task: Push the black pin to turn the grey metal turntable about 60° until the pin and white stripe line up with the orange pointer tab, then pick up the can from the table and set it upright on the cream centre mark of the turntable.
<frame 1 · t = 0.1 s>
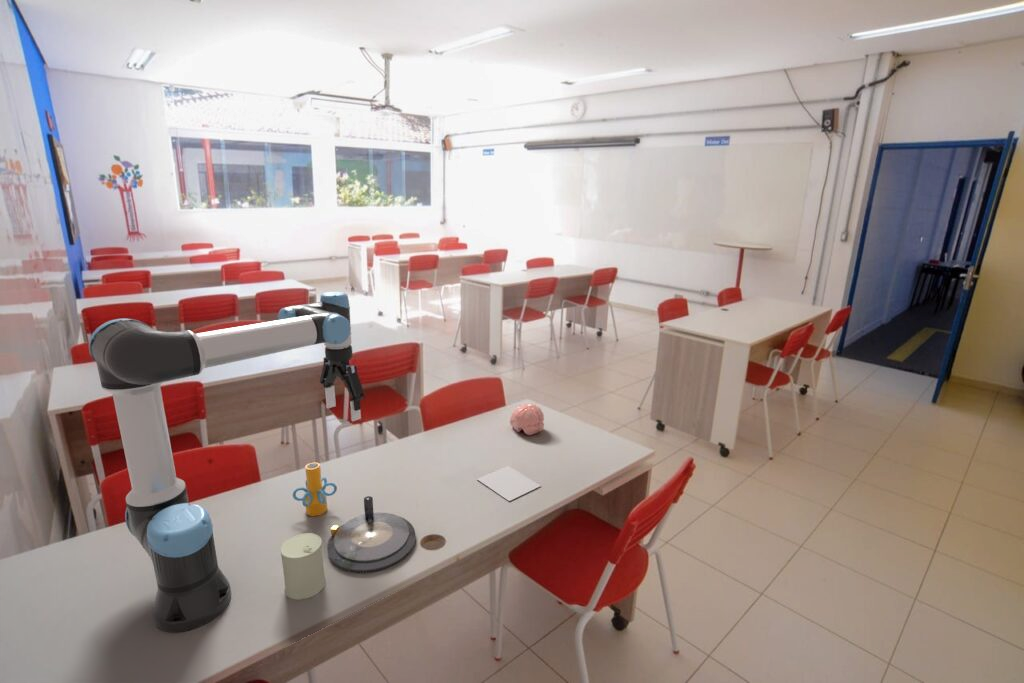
hand: (343, 413, 155), 28 cm above the table, tool pointing down, fingers open, 13 cm apart
can: (305, 586, 125), on the table
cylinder: (317, 511, 154), on the table
turntable: (371, 526, 138), point 5 cm above the table, hinge at 0.0°
brain: (526, 430, 210), on the table
paper stack: (489, 484, 171), on the table
turntable base: (372, 543, 140), on the table
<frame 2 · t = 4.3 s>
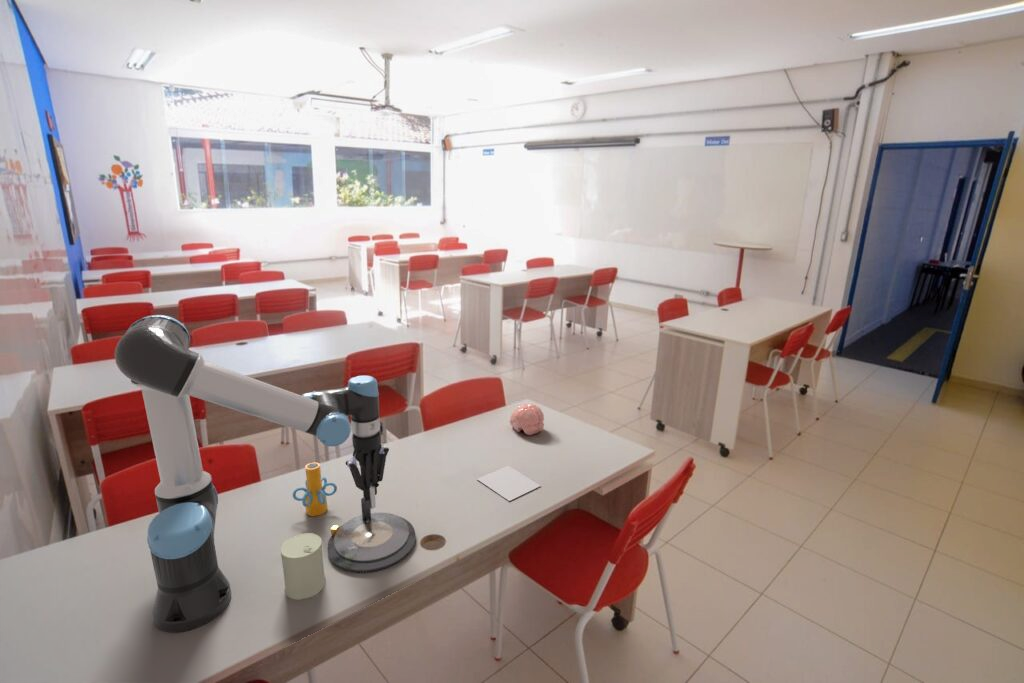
hand: (371, 506, 147), 6 cm above the table, tool pointing down, fingers closed
turntable: (371, 526, 138), point 5 cm above the table, hinge at 5.3°, touching gripper
everything else where it was.
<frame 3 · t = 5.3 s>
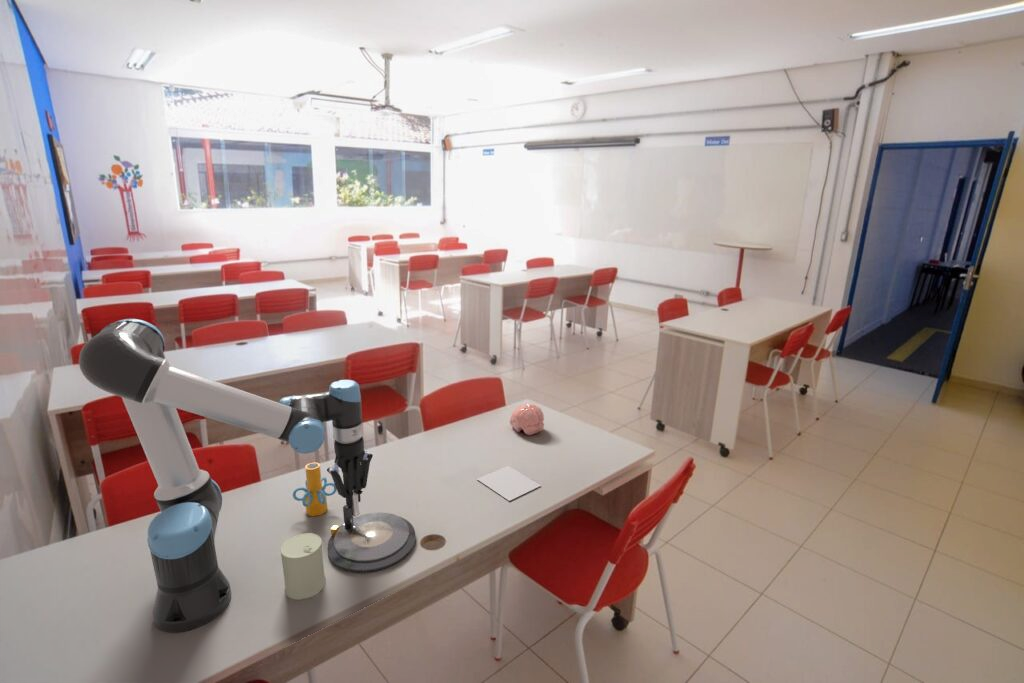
hand: (354, 513, 143), 6 cm above the table, tool pointing down, fingers closed
turntable: (371, 526, 138), point 5 cm above the table, hinge at 45.2°, touching gripper
everything else where it was.
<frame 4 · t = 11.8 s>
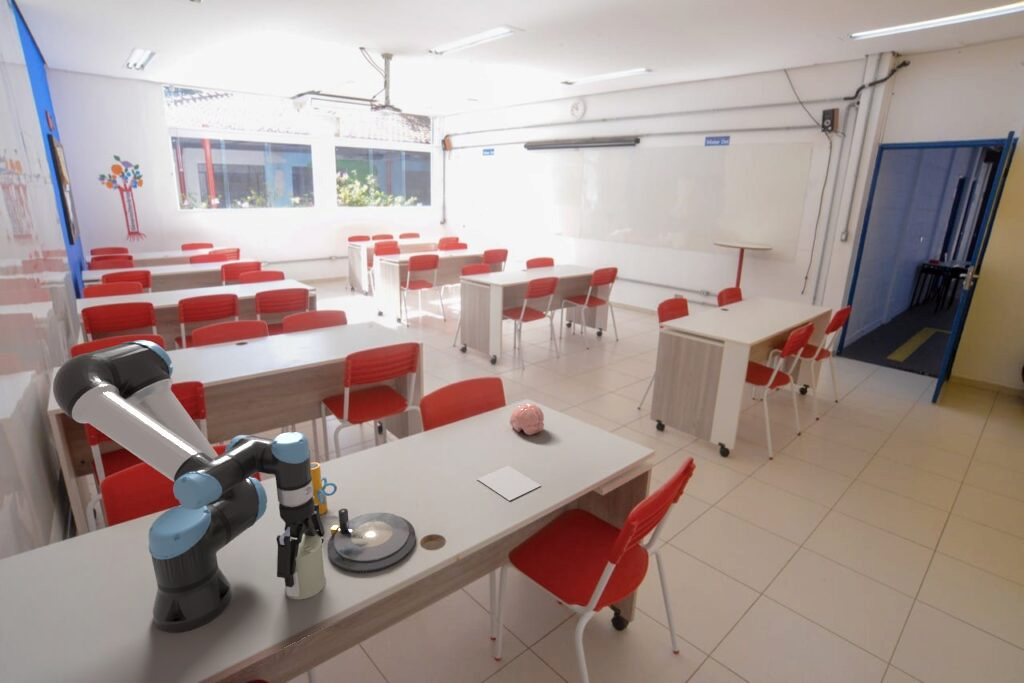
hand: (305, 580, 124), 1 cm above the table, tool pointing down, fingers closed on can, 9 cm apart
can: (305, 586, 125), on the table, touching gripper
turntable: (371, 526, 138), point 5 cm above the table, hinge at 59.7°
everything else where it was.
when the fingers open (6 cm above the table, at t = 18.0 s): can drops 1 cm, resting on turntable.
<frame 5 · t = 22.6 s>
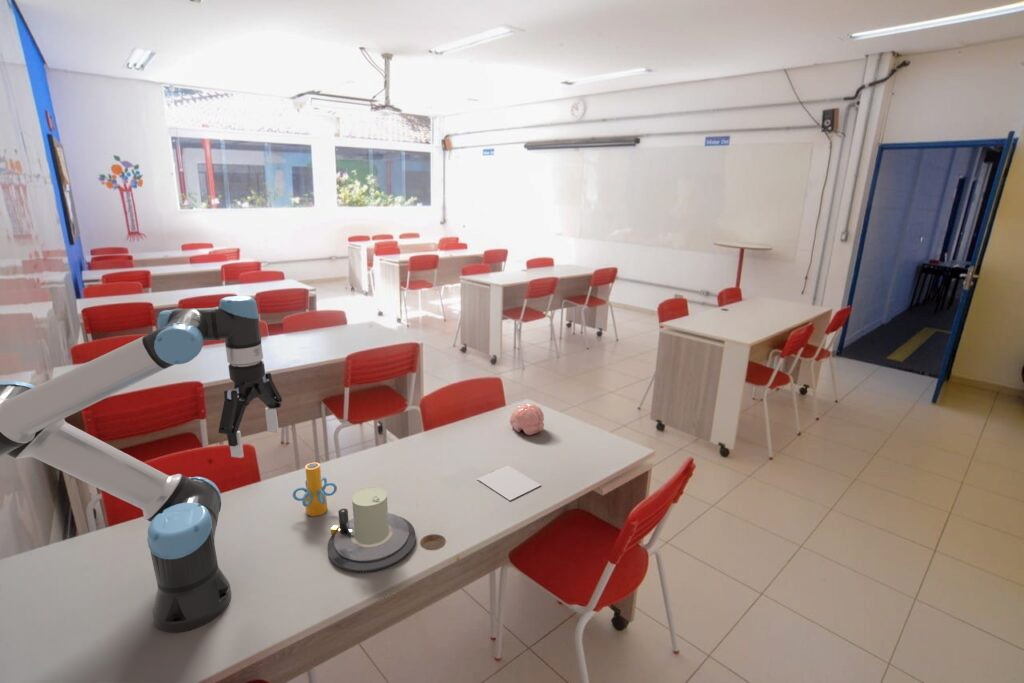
hand: (256, 443, 127), 32 cm above the table, tool pointing down, fingers open, 13 cm apart
can: (372, 534, 139), point 3 cm above the table, touching turntable
turntable: (371, 526, 138), point 5 cm above the table, hinge at 59.7°, touching can
everything else where it was.
at the end: turntable at +60° (first picture: +0°); can 0.0 cm from the turntable (horizontally); can tilted 0° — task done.
